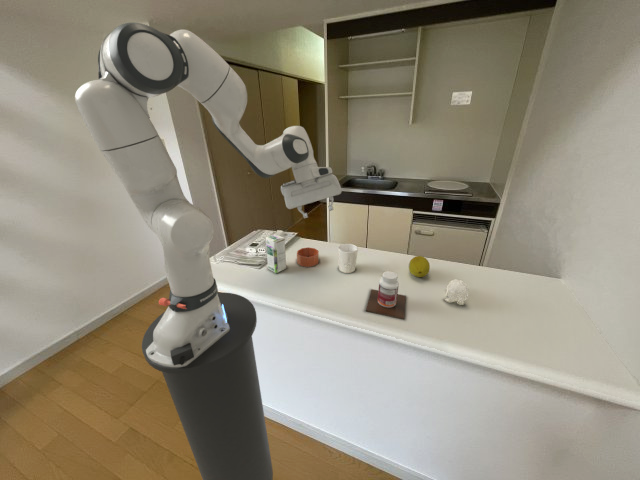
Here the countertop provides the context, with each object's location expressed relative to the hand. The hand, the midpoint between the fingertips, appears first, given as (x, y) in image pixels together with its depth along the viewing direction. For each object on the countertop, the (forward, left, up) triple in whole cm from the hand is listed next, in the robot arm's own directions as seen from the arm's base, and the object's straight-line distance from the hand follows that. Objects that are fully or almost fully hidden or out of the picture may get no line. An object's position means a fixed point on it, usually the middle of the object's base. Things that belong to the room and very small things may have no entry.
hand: (318, 214), depth 91 cm
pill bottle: (-8, -27, -26) cm, 38 cm away
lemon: (+14, -37, -27) cm, 48 cm away
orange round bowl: (+11, +9, -26) cm, 30 cm away
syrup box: (+1, +19, -27) cm, 33 cm away
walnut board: (-8, -27, -26) cm, 39 cm away
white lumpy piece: (+3, -49, -27) cm, 56 cm away
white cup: (+10, -9, -27) cm, 30 cm away
